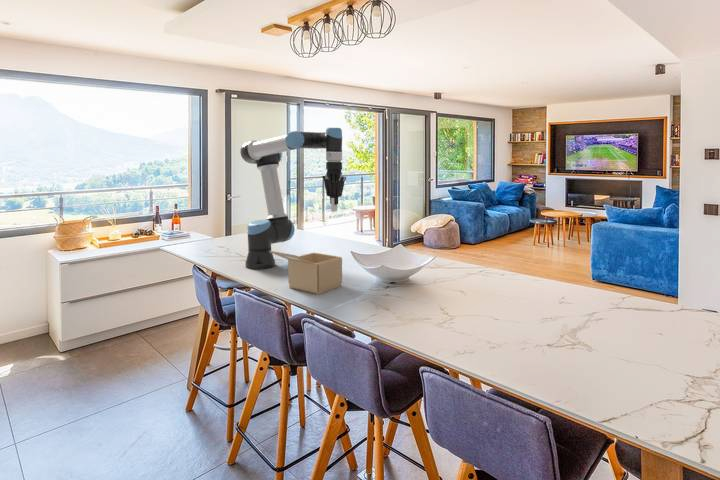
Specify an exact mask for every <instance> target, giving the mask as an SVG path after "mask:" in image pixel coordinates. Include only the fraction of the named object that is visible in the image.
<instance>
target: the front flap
mask: <svg viewBox="0 0 720 480" xmlns="http://www.w3.org/2000/svg"><path fill="white" fill-rule="evenodd" d="M269 252H271V253H272V254H273V255H276V256H278V257H281V258H283V259H286V260H287V261H288V260H292V261H297V262H303V263H308V264H313V265H314V264H315V263H312V262H310V261H308V260H305V259H303V258H301V257H298V256H299V255H296V254H290V253H284V252H279V251H272V250H271V251H269Z"/></svg>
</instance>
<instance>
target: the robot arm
mask: <svg viewBox="0 0 720 480" xmlns="http://www.w3.org/2000/svg"><path fill="white" fill-rule="evenodd" d="M299 149H312V150H314V149H315V150H317V149H325V160H326V162H325V170H326V173H325V175H322V176H321V178H322V180H323V182H324V188H325V193H326V196H327V197H328V198H329V200H330V201H329V203H330V208H331V209H330V211H331V212H332V213H334V212H338V204H339V198H341V197H342V196H343V192H344V186H345V182H346V180H347V176H344V175H343V172H342V170H343V162H342V161H343V130H342V128H341V127H326V129H325V132H317V131H316V132H315V131H312V132H311V131H299V130H298V131H297V130H296V131H295V130H293V131H290V132H287V134H283V135H279V136H275V137H271V138H267V139H263V140H260V141H259V140H250V141H246V142H244V143H243V144H242V145H241V148H240V150H239V152H240V157H241V158H242V160H243V161H244V162H246V163H248V164H252V165H256V168H257V170H259V171H260V173H261V180H262V184H263V185H262V187H263V193H264V198H265V203H266V209H267V210H266V211H267V215H268V216H267V217H266V218H265V219H257V220H254V221H251V222H249V223H248V224H247V232H246V233H247V248H248V250H247V251H248V253H247V255H246V260H245V268H247V269H250V270H251V269H252V270H253V269H254V270H265V269H270V268H273V267H275V266H276V259H274V254H273V253H271V252H269V251H272V245H273V244H279V243H284V242H288V241H290V240H291V239H292V238H293V236H294V235H295V224H294V223H293V222H292V220H291V219H290V218H289V216H288V215H287V214H286V212H285V208H284V202H283V197H282V191H281V186H280V185H281V184H280V180H279V179H280V178H279V175H278V168H279V166H280V162H281V161H282V157H283V154H282V153H285V152H290V151H295V150H299Z"/></svg>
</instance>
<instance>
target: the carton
mask: <svg viewBox="0 0 720 480" xmlns="http://www.w3.org/2000/svg"><path fill="white" fill-rule="evenodd" d="M297 256H298V257H301V258H303V259H305V260H308V261H310V262H312V263H315V264H314V265H313V264H308V263H303V262H297V261H292V260H288V259H287V266H288V267H287V268H288V271H287V272H288V274H287V275H288V284H289V285H288V286H289V289H291V290H295V291H299V290H300V291H299V292H305V293H308V294H313V295H320V294H323V293H326V292H329V291H331V290H335V289H337V288H340V287H342V283H343V257H341V256H337V255H331V254H326V253H325V254H324V253H319V252H310V253H307V254H302V255H297Z"/></svg>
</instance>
